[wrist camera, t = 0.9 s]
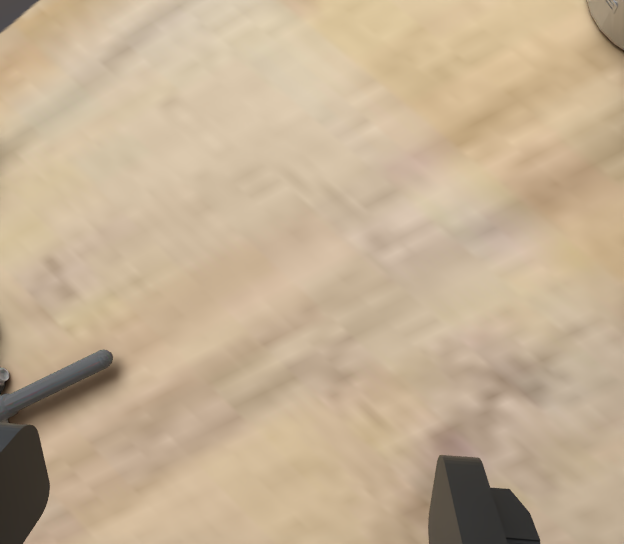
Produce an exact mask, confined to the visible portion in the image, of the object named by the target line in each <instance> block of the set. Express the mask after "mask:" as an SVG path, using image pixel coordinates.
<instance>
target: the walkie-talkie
mask: <svg viewBox="0 0 624 544" xmlns="http://www.w3.org/2000/svg"><path fill="white" fill-rule="evenodd" d="M112 360H113V355H112V354H111V352H109V351H108V350H100V351H98V352H96V353H93V354H91V355H89V356H87V357H85V358H83V359H81V360H79V361H77V362H75V363H73V364H71V365H69V366H67V367H65V368H63V369H61V370H59V371H57V372H55V373H53V374H50V375H48V376H46V377H44V378H42V379H40V380H38V381H36V382H34V383H32V384H30V385H28V386H26V387H24V388H22V389H20V390H18V391H16V392H14V393H12V394H4V395H2V396H1V392H2V390H3V389H4V387H5V384H4V382H5V381H7V380H8V379H9V372H8V371H7V370H6V369H5V368H0V423H9V422H8V418H9V417H11V416H14V415H15V414H17V413H18V411H19V410H20V409H22V408H25V407H27V406H29V405H31V404H33V403H35V402H37V401H39V400H41V399H43V398H45V397H47V396H49V395H51V394H53V393H55V392H58V391H60V390H62V389H64V388H66V387H68V386H70V385H72V384H74V383H76V382H78V381H80V380H82V379H84V378H86V377H88V376H91V375H93V374H95V373H97V372H99V371H101V370H103V369H105V368H107V367H108V366H109V365H110V364H111V363H112Z"/></svg>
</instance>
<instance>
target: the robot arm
mask: <svg viewBox="0 0 624 544" xmlns="http://www.w3.org/2000/svg"><path fill="white" fill-rule="evenodd" d="M587 3H588V6H589V10H590V13H591V15H592V17H593V19H594V20H595V22H596V24H597V25H598V27H599V29H600V30H601V31H602V32H603V33H604V34H605V35H606V36H607V37H608V38H609V39H610V40H611V41H612V42H613V43H614V44H615V45H617V46H618V47H620V48H621V49H623V50H624V0H587ZM49 490H50V483H49V478H48V473H47V469H46V465H45V460H44V456H43V451H42V447H41V443H40V438H39V434H38V431H37V429H36V428H35V427H34V426H33V425H26V424H12V423H0V544H23V542H24V541H25V539H26V538H27V536H28V535H29V533H30V532H31V530H32V529H33V527H34V526H35V524H36V523H37V521H38V520H39V518H40V517H41V515H42V513H43V511H44V509H45V507H46V504H47V501H48V497H49ZM428 531H429V544H540V538H539V536H538V533H537V531H536V528H535V525H534V523H533V520H532V518H531V515H530V513H529V512H528V510H527V509H526V508H525V507H524V506H523V504H522V503H521V502H520V501H519V500H518V499H517V497H516V496H515V495H514V494H513V493H512V492H511V490H510V489H500V488H490V486H489V483H488V479H487V476H486V473H485V470H484V467H483V464H482V461H481V460H480V458H475V457H460V456H446V455H440V456H439V457H438V461H437V466H436V472H435V479H434V485H433V492H432V498H431V504H430V511H429V524H428Z"/></svg>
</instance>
